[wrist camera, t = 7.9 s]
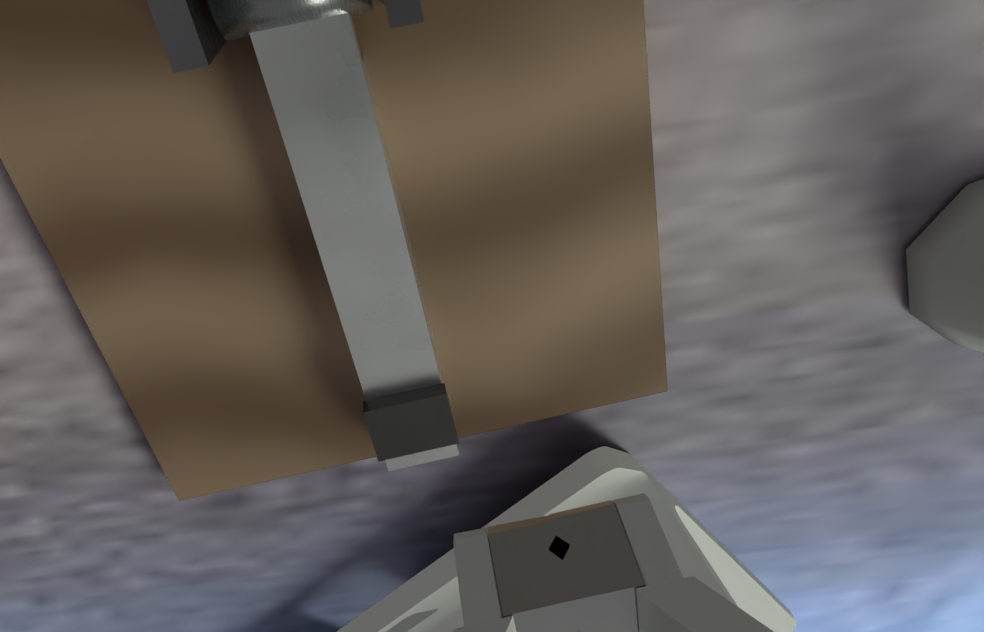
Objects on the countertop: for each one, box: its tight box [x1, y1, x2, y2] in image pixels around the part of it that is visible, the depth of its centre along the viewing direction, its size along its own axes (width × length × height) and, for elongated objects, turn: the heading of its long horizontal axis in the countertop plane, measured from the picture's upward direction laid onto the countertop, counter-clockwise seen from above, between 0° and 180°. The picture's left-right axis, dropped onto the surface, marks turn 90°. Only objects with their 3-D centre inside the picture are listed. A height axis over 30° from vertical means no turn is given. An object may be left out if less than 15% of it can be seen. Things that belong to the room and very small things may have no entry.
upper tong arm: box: [207, 0, 459, 471], centre depth 22 cm, size 16×4×2 cm, turn 9°
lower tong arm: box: [146, 0, 455, 423], centre depth 22 cm, size 16×6×3 cm, turn 10°
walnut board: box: [0, 0, 668, 501], centre depth 24 cm, size 18×18×1 cm
